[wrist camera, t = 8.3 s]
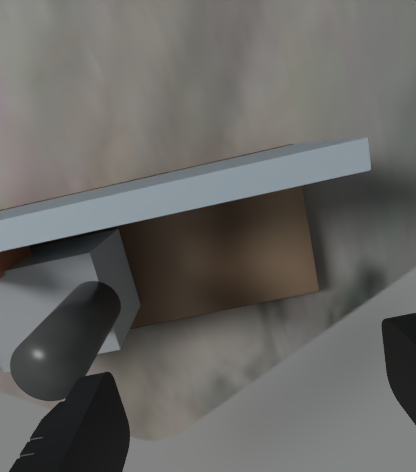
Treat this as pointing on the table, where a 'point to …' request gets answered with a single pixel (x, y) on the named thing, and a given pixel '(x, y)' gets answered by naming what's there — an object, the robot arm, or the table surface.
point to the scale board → (182, 191)
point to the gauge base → (218, 255)
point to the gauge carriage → (63, 310)
